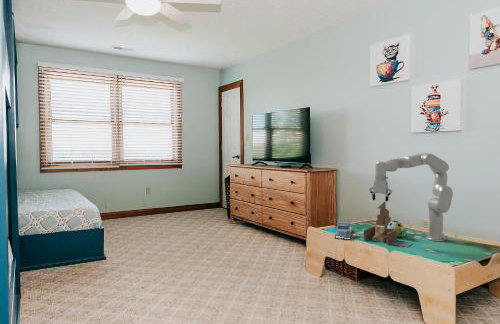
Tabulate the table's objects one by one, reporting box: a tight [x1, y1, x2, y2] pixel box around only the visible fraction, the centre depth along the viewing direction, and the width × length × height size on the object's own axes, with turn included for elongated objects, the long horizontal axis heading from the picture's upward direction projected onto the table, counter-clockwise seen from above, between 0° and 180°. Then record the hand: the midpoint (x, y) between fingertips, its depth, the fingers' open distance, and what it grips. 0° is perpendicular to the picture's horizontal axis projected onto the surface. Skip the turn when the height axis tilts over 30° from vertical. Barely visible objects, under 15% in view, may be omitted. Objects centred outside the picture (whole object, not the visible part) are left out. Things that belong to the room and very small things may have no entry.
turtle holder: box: [387, 220, 407, 238], centre depth 282 cm, size 12×18×12 cm
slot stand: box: [363, 225, 398, 246], centre depth 273 cm, size 18×17×8 cm
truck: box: [334, 216, 353, 240], centre depth 290 cm, size 12×29×15 cm, turn 162°
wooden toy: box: [375, 201, 393, 228], centre depth 300 cm, size 16×7×25 cm, turn 40°
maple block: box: [375, 225, 385, 238], centre depth 272 cm, size 5×5×8 cm
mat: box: [392, 241, 413, 248], centre depth 261 cm, size 10×10×1 cm
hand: (380, 200), depth 271 cm, fingers open, 9 cm apart
